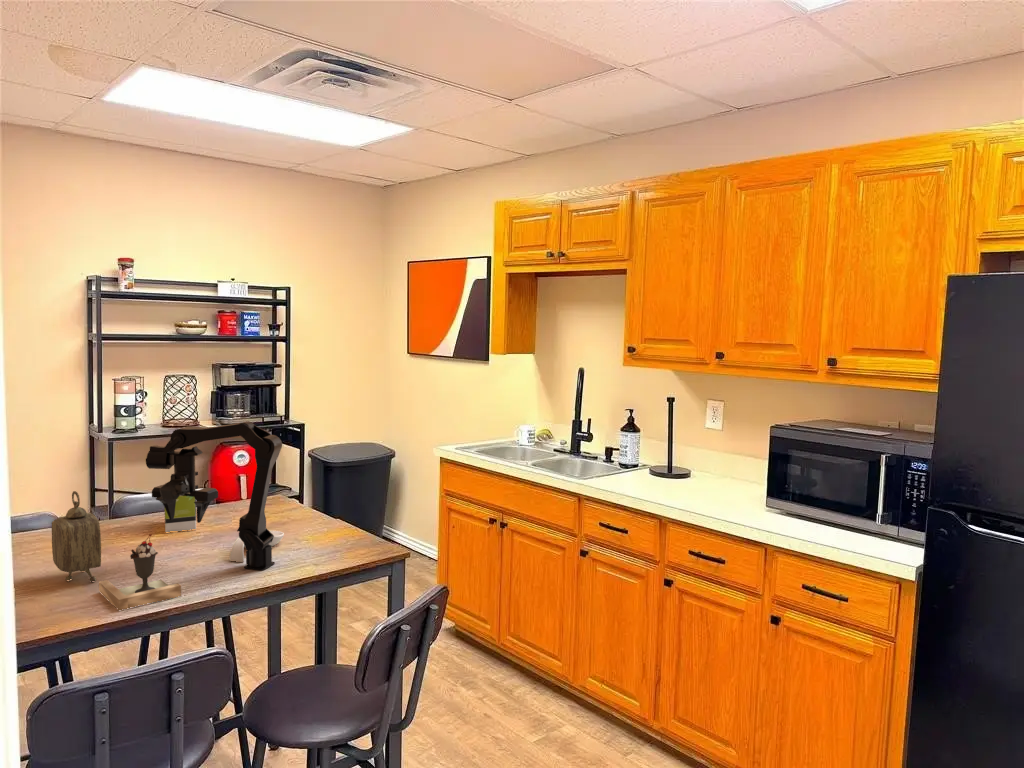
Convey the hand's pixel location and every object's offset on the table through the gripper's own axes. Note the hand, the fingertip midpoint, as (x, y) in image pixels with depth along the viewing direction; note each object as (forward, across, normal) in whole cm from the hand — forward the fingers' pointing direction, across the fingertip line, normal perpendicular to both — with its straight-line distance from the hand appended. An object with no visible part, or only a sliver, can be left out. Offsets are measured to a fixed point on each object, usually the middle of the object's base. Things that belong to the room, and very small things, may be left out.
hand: (185, 521), depth 216 cm
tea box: (+14, -27, +34) cm, 46 cm away
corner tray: (+13, +4, -24) cm, 28 cm away
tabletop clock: (+14, -20, -19) cm, 31 cm away
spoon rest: (+14, +12, +18) cm, 25 cm away
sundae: (+13, +4, -23) cm, 26 cm away
